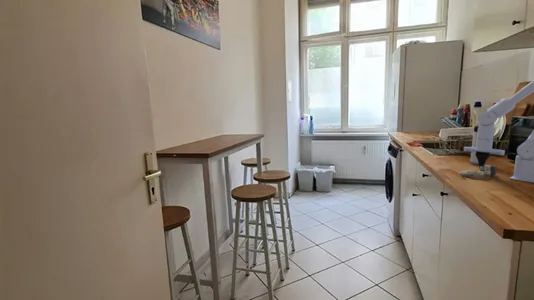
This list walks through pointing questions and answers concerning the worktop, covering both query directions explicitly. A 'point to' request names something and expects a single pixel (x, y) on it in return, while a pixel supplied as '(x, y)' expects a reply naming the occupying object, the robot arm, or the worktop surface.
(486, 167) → the hinged leg
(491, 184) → the worktop surface
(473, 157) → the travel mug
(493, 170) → the block
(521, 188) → the worktop surface
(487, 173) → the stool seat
